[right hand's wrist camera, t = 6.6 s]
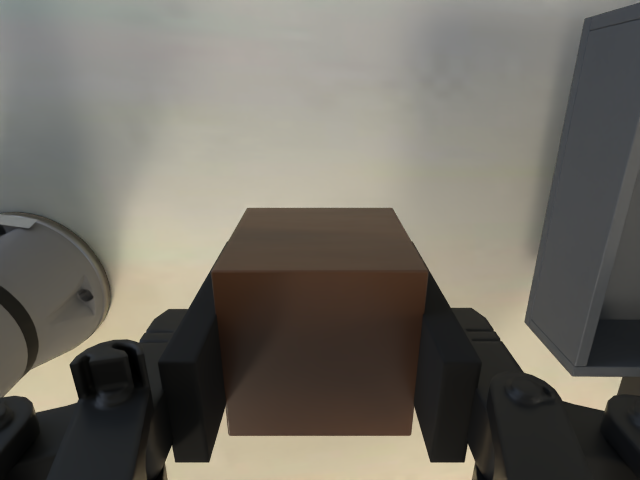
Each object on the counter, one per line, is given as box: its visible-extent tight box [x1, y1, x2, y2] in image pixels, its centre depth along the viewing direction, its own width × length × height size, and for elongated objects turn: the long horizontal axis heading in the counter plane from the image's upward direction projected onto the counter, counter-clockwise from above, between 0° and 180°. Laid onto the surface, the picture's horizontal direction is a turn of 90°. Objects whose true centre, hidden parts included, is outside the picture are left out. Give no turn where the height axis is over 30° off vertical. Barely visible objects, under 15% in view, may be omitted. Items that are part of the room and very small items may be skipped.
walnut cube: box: [211, 208, 429, 436], centre depth 12 cm, size 5×5×5 cm
